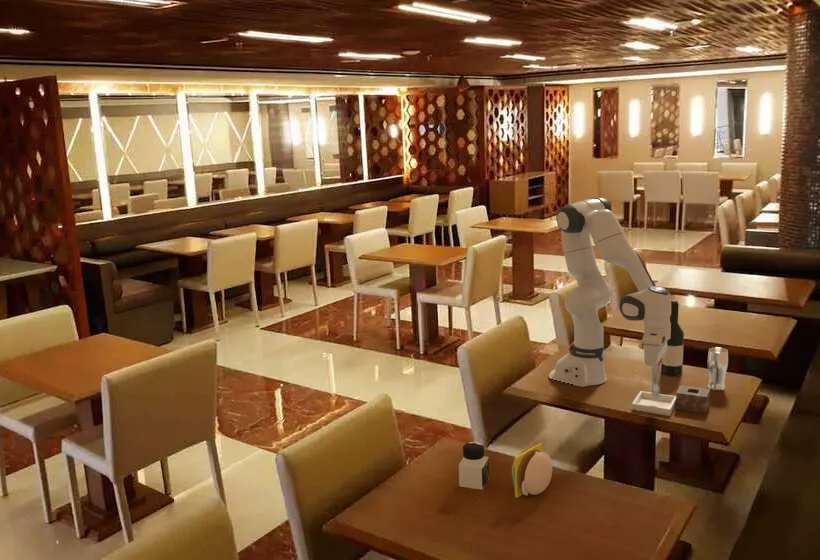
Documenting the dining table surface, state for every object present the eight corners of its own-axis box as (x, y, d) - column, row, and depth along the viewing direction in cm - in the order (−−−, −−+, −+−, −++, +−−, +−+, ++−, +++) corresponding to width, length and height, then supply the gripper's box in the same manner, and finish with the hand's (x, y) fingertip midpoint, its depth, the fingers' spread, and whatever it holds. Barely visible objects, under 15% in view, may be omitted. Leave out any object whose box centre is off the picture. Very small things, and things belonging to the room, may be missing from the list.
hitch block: (675, 408, 252) (676, 392, 250) (679, 400, 258) (680, 385, 257) (705, 413, 247) (706, 397, 245) (709, 405, 253) (710, 389, 252)
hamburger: (532, 504, 194) (532, 464, 192) (508, 494, 200) (507, 455, 198) (557, 487, 202) (558, 448, 200) (534, 478, 208) (533, 440, 206)
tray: (631, 410, 252) (631, 403, 252) (640, 397, 263) (640, 390, 263) (670, 416, 246) (670, 409, 245) (677, 402, 257) (677, 396, 256)
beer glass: (722, 384, 272) (724, 347, 268) (729, 391, 265) (731, 353, 262) (703, 384, 272) (705, 347, 269) (709, 391, 266) (711, 353, 262)
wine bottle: (656, 372, 286) (658, 301, 280) (667, 367, 292) (670, 296, 285) (675, 378, 280) (678, 304, 274) (686, 372, 285) (689, 300, 279)
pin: (648, 397, 253) (649, 359, 250) (651, 393, 256) (652, 355, 253) (660, 398, 251) (661, 360, 248) (662, 394, 254) (663, 357, 251)
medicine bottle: (482, 490, 203) (481, 451, 200) (459, 486, 205) (457, 448, 203) (489, 478, 209) (488, 441, 207) (466, 475, 212) (465, 438, 209)
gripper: (654, 324, 259) (653, 360, 262) (641, 340, 241) (640, 378, 244) (672, 325, 255) (671, 362, 258) (660, 342, 238) (659, 381, 241)
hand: (656, 370), depth 251 cm, fingers closed on pin, 3 cm apart
